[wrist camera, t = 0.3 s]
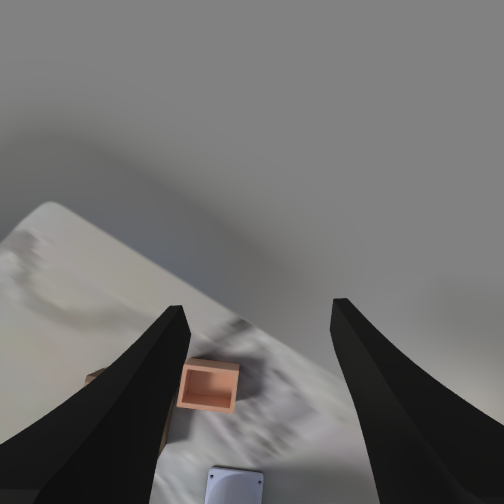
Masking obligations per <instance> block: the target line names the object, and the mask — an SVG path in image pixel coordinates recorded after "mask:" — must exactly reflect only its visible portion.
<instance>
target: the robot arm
mask: <svg viewBox="0 0 504 504" xmlns="http://www.w3.org/2000/svg"><path fill="white" fill-rule="evenodd" d="M330 333H331V337H332V342H333V345H334V350H335V353H336V355H337V358H338V361H339V364H340V367H341V369H342V372H343V375H344V378H345V380H346V383H347V386H348V388H349V391H350V394H351V397H352V399H353V402H354V405H355V408H356V411H357V415H358V418H359V422H360V426H361V429H362V433H363V437H364V440H365V444H366V448H367V452H368V456H369V460H370V464H371V468H372V472H373V476H374V480H375V484H376V488H377V493H378V497H379V501H380V504H504V426H503V425H502V424H500V423H499V422H497V421H496V420H494V419H492V418H491V417H489V416H488V415H486V414H484V413H483V412H482V411H480V410H478V409H477V408H475V407H474V406H473V405H471V404H470V403H468V402H467V401H465V400H464V399H462V398H461V397H459V396H458V395H457V394H455V393H454V392H452V391H451V390H449V389H448V388H446V387H445V386H444V385H442V384H441V383H440V382H438V381H437V380H436V379H434V378H433V377H432V376H430V375H429V374H428V373H426V372H425V371H424V370H422V369H421V368H420V367H419V366H418V365H416V364H415V363H414V362H413V361H411V360H410V359H409V358H408V357H407V356H405V355H404V354H403V353H402V352H401V351H400V350H399V349H398V348H396V347H395V346H394V345H393V344H392V343H391V342H390V341H389V340H388V339H387V338H386V337H385V336H383V335H382V334H381V333H380V332H379V331H378V330H377V329H376V328H375V327H374V326H373V325H372V324H371V323H370V322H369V321H368V320H367V319H366V318H365V317H364V316H363V315H362V313H361V312H360V311H359V310H358V309H357V308H356V307H355V306H354V305H353V304H352V303H351V302H350V301H349V300H348V299H347V298H341V299H333V307H332V315H331V323H330ZM190 338H191V332H190V329H189V326H188V323H187V320H186V316H185V313H184V310H183V307H182V305H177V306H169V307H168V308H167V309H166V310H165V311H164V312H163V313H162V314H161V316H160V317H159V318H158V319H157V320H156V321H155V322H154V323H153V324H152V325H151V326H150V327H149V328H148V329H147V330H146V331H145V332H144V333H143V334H142V336H141V337H140V338H139V339H138V340H137V341H136V342H135V343H134V344H133V345H131V346H130V347H129V348H128V349H127V350H126V351H125V352H124V353H123V354H122V355H121V356H120V357H119V358H118V359H117V360H116V361H115V362H114V363H112V364H111V365H110V366H109V367H108V368H107V369H106V370H104V371H103V372H102V373H101V374H100V375H98V376H97V377H96V378H95V379H94V380H92V381H91V382H90V383H89V384H87V385H86V386H85V387H83V388H82V389H81V390H79V391H78V392H77V393H76V394H74V395H73V396H72V397H70V398H69V399H68V400H66V401H65V402H64V403H62V404H61V405H60V406H58V407H57V408H55V409H54V410H52V411H51V412H50V413H48V414H47V415H45V416H44V417H42V418H41V419H39V420H38V421H36V422H35V423H33V424H32V425H30V426H29V427H27V428H26V429H24V430H23V431H21V432H20V433H18V434H17V435H15V436H13V437H12V438H10V439H9V440H7V441H5V442H4V443H2V444H0V504H149V500H150V495H151V489H152V484H153V479H154V474H155V469H156V464H157V459H158V455H159V450H160V446H161V441H162V437H163V432H164V428H165V424H166V420H167V416H168V412H169V409H170V405H171V402H172V399H173V396H174V393H175V390H176V387H177V384H178V381H179V378H180V375H181V372H182V369H183V366H184V363H185V360H186V357H187V353H188V348H189V343H190ZM210 475H213V477H211V476H210ZM259 480H260V481H261V482H260V483H259V482H258V481H259ZM263 481H264V477H263V474H262V473H259V472H251V471H242V470H234V469H226V468H218V467H211V468H210V470H209V475H208V482H207V490H206V497H205V504H261V502H262V491H263Z"/></svg>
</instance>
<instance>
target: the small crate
mask: <svg viewBox="0 0 504 504" xmlns="http://www.w3.org/2000/svg"><path fill="white" fill-rule="evenodd" d="M238 374H239V364H237V363H229V362H220V361H212V360H204V359H196V358H189V360H188V361H187V362H186V363H185V364H184V366H183V372H182V378H181V383H180V389H179V395H178V401H177V407H183V408H191V409H199V410H207V411H215V412H223V413H232V414H234V407H235V399H236V390H237V382H238Z"/></svg>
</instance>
